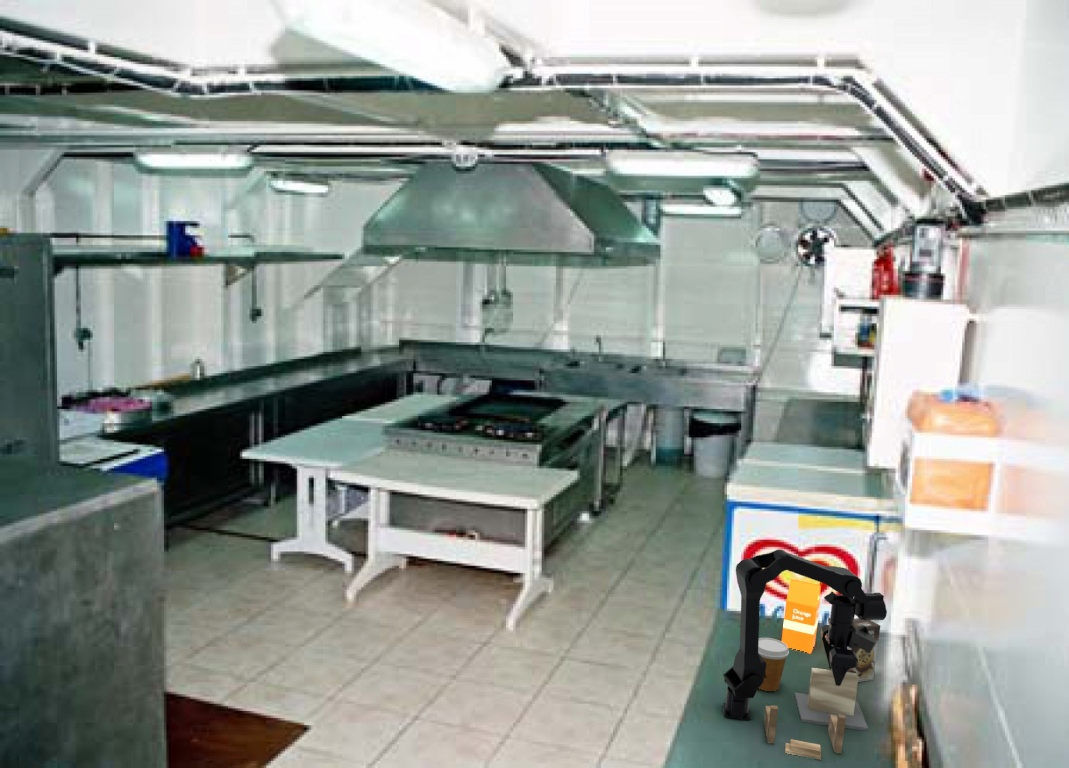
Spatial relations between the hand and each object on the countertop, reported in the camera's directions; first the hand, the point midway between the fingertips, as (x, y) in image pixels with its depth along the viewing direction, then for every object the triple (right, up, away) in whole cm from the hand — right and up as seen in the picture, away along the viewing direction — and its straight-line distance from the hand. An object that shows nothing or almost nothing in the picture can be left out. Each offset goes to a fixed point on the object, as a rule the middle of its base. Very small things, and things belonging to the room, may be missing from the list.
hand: (834, 677), depth 236 cm
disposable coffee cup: (-14, -7, +13) cm, 21 cm away
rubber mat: (-1, -10, +1) cm, 10 cm away
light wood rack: (-12, -11, -12) cm, 20 cm away
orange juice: (+2, -4, +41) cm, 41 cm away
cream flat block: (-1, -9, +1) cm, 9 cm away
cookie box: (+13, -7, +23) cm, 27 cm away
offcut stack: (-14, -12, -19) cm, 26 cm away
